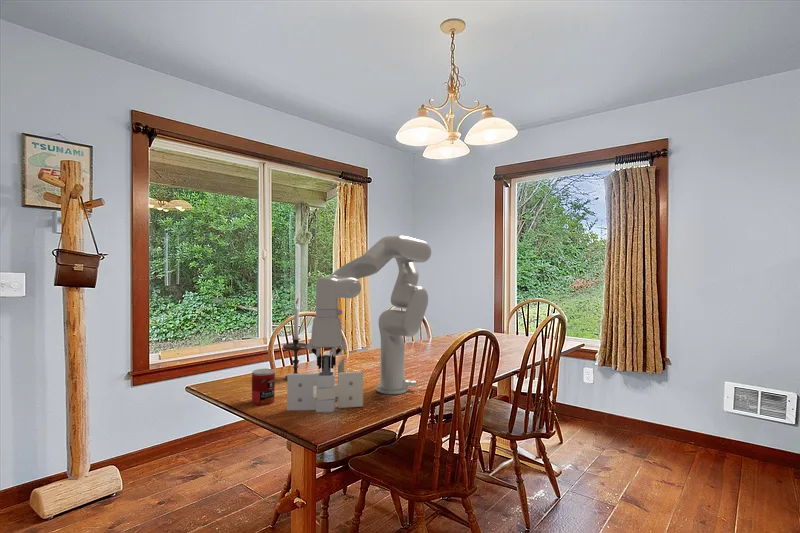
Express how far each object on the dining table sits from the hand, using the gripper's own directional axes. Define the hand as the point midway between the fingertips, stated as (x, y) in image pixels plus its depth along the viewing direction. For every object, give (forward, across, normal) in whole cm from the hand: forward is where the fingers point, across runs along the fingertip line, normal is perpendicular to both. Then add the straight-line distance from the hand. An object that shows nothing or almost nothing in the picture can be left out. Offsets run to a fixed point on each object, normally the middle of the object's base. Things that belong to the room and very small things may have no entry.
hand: (326, 367), depth 144 cm
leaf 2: (+14, -5, -1) cm, 15 cm away
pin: (+14, 0, 0) cm, 14 cm away
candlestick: (+14, +16, -40) cm, 45 cm away
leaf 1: (+14, +5, 0) cm, 15 cm away
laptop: (+15, +1, -18) cm, 23 cm away
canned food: (+14, +22, -9) cm, 28 cm away
